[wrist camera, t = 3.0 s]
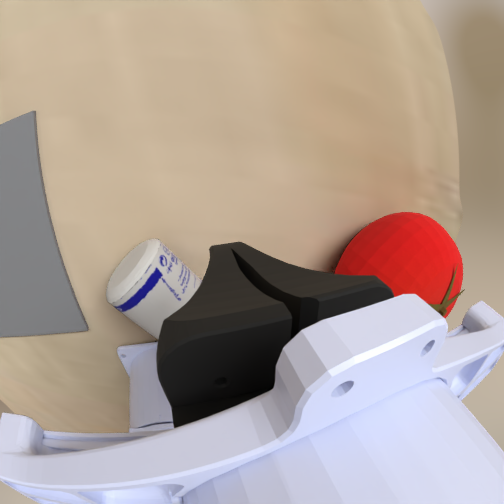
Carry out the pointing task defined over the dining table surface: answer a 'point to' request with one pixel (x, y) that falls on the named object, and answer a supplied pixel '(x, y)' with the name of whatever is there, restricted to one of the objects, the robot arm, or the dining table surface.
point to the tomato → (408, 258)
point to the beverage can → (151, 285)
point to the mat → (30, 243)
